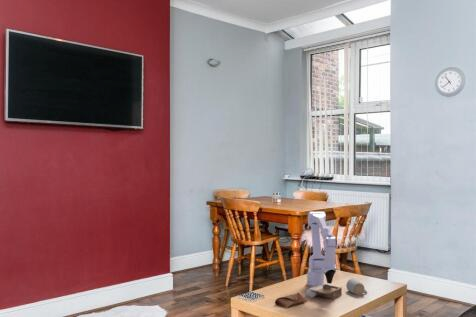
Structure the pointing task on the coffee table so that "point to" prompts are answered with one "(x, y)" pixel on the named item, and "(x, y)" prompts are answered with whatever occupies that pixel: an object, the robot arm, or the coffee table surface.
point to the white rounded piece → (311, 293)
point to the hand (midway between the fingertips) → (329, 283)
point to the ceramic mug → (355, 287)
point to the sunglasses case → (290, 301)
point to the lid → (324, 289)
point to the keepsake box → (333, 294)
